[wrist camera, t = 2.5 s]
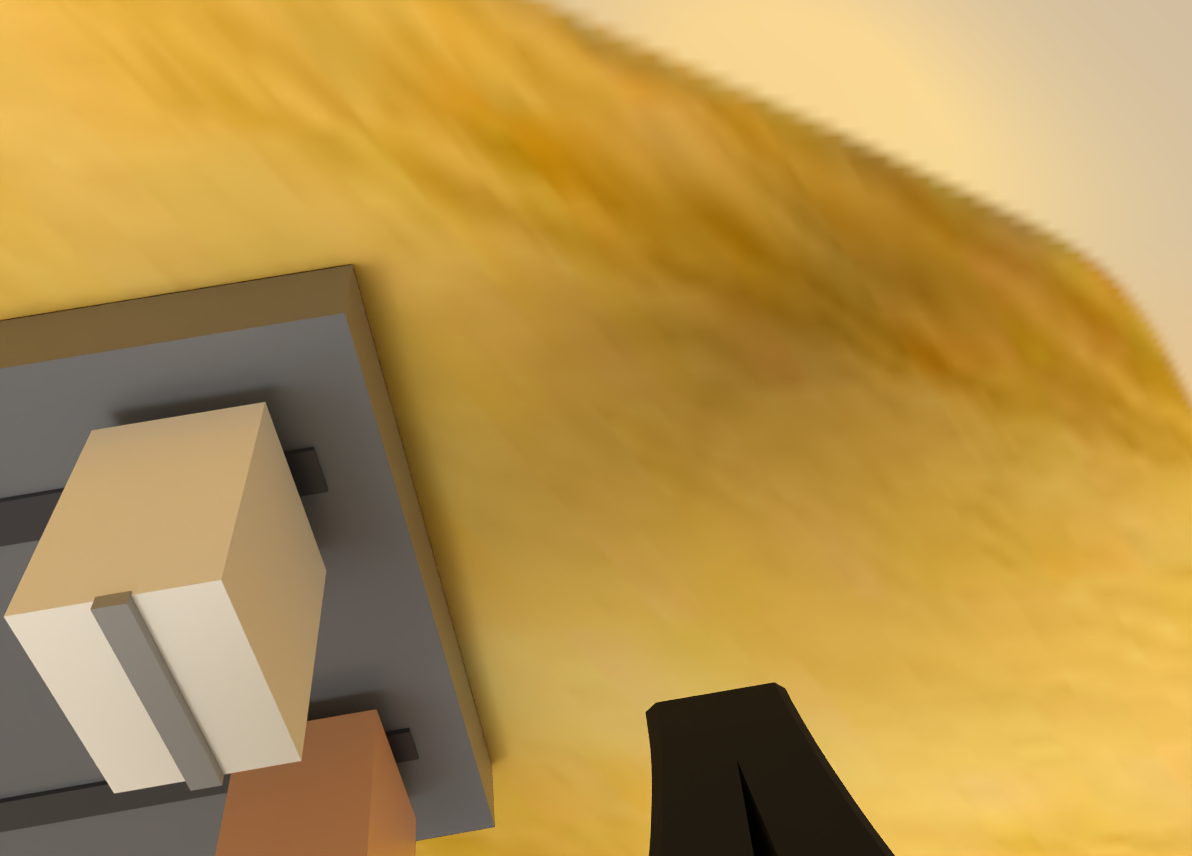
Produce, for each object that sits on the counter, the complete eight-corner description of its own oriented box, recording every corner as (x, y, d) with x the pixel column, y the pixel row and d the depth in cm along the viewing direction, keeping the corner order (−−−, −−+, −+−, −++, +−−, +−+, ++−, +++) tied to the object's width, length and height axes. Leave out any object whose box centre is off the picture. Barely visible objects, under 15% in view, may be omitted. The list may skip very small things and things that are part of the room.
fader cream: (173, 597, 16) (111, 804, 13) (91, 429, 15) (-2, 624, 12) (326, 571, 17) (300, 772, 13) (264, 400, 15) (218, 588, 12)
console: (-214, 889, 22) (-254, 964, 21) (-676, 430, 15) (-780, 498, 14) (492, 765, 23) (495, 831, 21) (352, 264, 16) (344, 316, 15)
